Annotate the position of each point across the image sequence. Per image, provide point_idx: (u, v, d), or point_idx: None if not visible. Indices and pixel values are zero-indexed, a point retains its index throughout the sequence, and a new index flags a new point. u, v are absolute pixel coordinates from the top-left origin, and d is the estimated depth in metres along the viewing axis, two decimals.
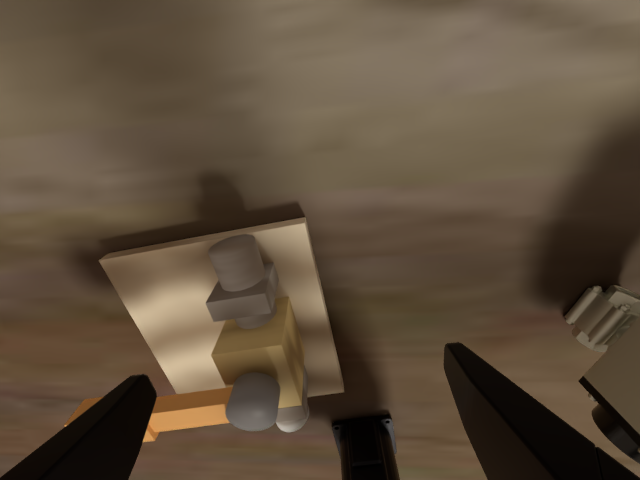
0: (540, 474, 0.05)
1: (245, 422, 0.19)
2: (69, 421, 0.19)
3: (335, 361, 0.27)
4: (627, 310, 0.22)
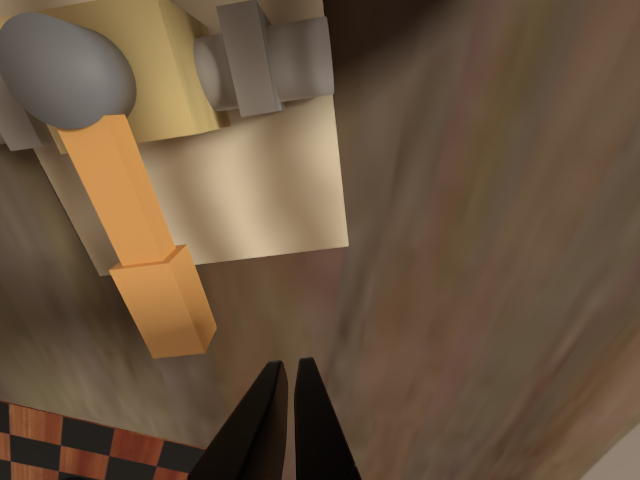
0: None
1: (78, 91, 0.09)
2: None
3: None
4: None
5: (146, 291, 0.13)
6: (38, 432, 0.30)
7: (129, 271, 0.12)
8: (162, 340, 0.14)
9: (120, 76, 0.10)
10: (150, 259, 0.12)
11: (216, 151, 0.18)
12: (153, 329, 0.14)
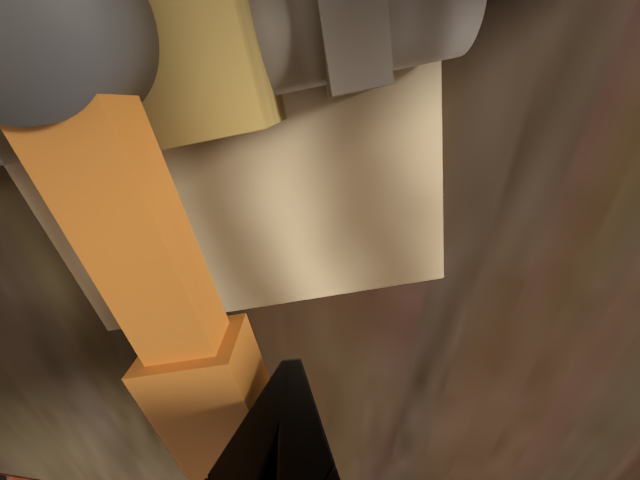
0: None
1: (35, 36, 0.04)
2: None
3: None
4: None
5: (187, 407, 0.07)
6: None
7: (157, 380, 0.07)
8: None
9: (128, 8, 0.05)
10: (193, 356, 0.07)
11: (264, 157, 0.12)
12: (198, 458, 0.08)
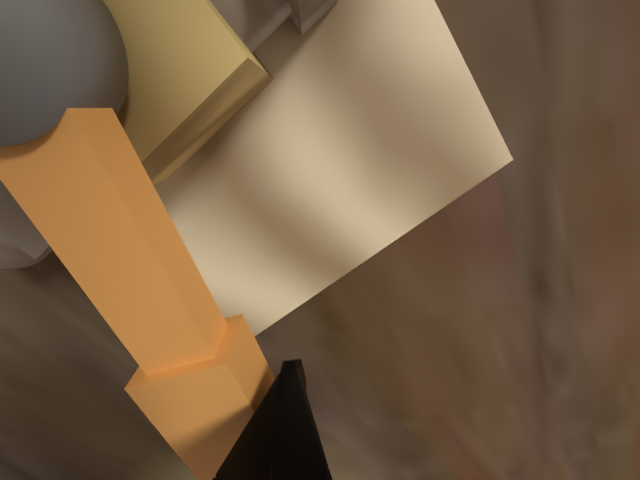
0: None
1: None
2: None
3: None
4: None
5: (192, 411, 0.07)
6: None
7: (159, 386, 0.07)
8: None
9: (90, 22, 0.05)
10: (192, 359, 0.07)
11: (271, 128, 0.12)
12: (209, 462, 0.08)
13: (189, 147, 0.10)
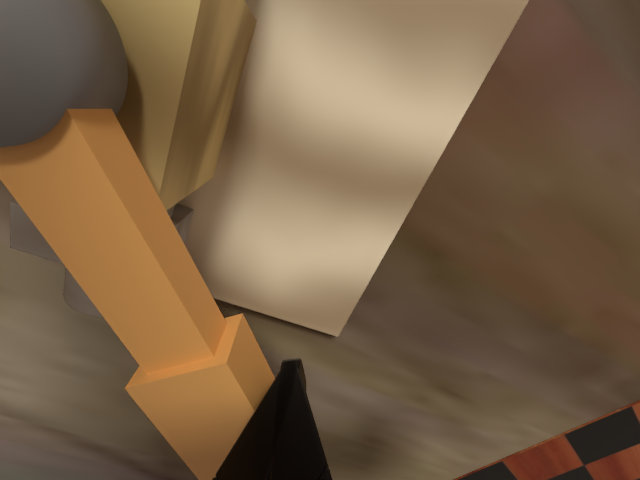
0: None
1: (0, 59, 0.04)
2: None
3: None
4: None
5: (192, 410, 0.07)
6: None
7: (159, 386, 0.07)
8: None
9: (89, 24, 0.05)
10: (192, 358, 0.07)
11: (278, 73, 0.11)
12: (210, 461, 0.08)
13: (213, 125, 0.10)
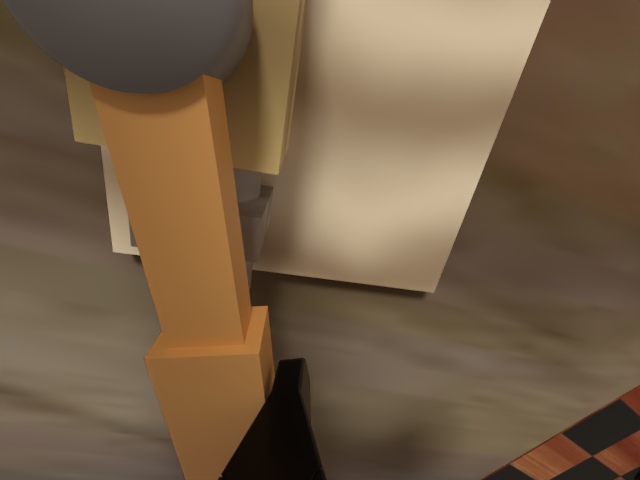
0: None
1: (165, 8, 0.04)
2: None
3: None
4: None
5: (204, 393, 0.07)
6: (560, 463, 0.25)
7: (182, 363, 0.07)
8: (210, 460, 0.08)
9: None
10: (222, 342, 0.07)
11: (340, 18, 0.10)
12: (200, 447, 0.08)
13: (294, 81, 0.10)
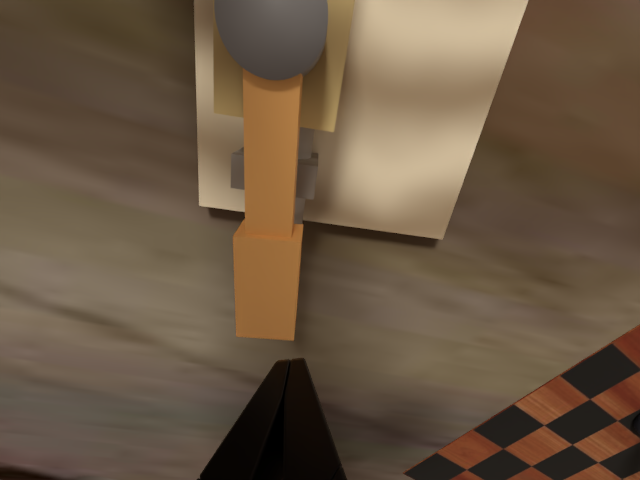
0: None
1: (292, 40, 0.09)
2: None
3: None
4: None
5: (262, 266, 0.12)
6: (560, 405, 0.28)
7: (254, 242, 0.11)
8: (255, 319, 0.13)
9: None
10: (279, 234, 0.11)
11: (370, 26, 0.15)
12: (251, 306, 0.13)
13: None
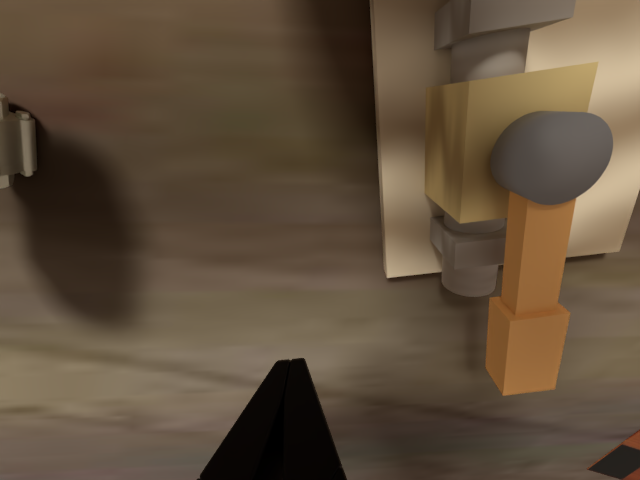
0: None
1: (579, 173, 0.11)
2: (500, 389, 0.16)
3: (379, 57, 0.16)
4: None
5: (533, 338, 0.14)
6: None
7: (528, 321, 0.13)
8: (521, 379, 0.15)
9: None
10: (546, 309, 0.13)
11: None
12: (520, 370, 0.15)
13: None
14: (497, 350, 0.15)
